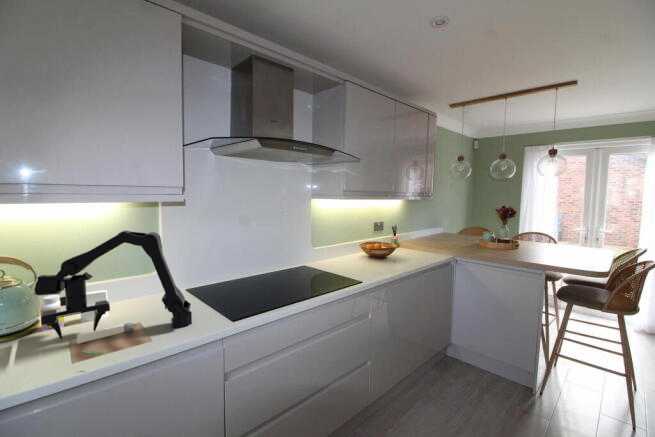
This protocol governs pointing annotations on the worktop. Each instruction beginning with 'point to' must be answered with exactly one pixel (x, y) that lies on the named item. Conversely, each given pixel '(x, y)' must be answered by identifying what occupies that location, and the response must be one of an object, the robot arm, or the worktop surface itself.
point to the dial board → (108, 344)
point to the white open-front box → (91, 300)
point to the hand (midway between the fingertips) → (78, 334)
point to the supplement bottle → (52, 304)
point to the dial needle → (104, 332)
